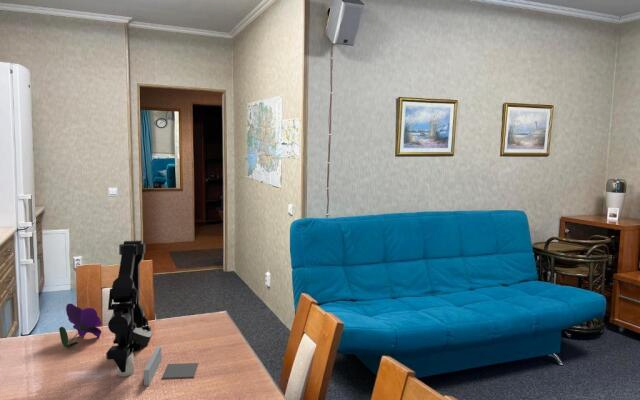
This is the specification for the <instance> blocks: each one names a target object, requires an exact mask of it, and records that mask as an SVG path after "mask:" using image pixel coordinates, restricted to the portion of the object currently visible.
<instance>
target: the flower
mask: <svg viewBox="0 0 640 400" xmlns="http://www.w3.org/2000/svg"><path fill="white" fill-rule="evenodd" d="M65 311H66V315H67V318H68V319H67V320H68V321H69V322H70V323H71V324H73V326H72V328H73V329H75V330H76V331H77V333H76V334H75V335H74V336H73V338H72V339H71V341H69V336H68V332H67V330H66V328H65V327H64V326H61V327H59V328H58V331H59V335H60V336H59V337H60V340H61V343H62V345H63V347H65V348H68V349H70V348H71V347H74V346H76V345H78V344H79V342H78V341H74V342H73V340H74V339H75V337H77V336H79V337H85V336H86V335H87V333H89V334H93V336H95V337H96V338H98V339H100V337H101V335H102V333H103V332H102V330H101V329H100V328H99V327H100V326H101V325H102V321H101V319H100V317H99V316H98V312H97V311H96V309H95V308H91V307H86V308H83V309H82V308H80V307H78V306H76V305H75V304H73V303H68V304H67V305H66V307H65Z"/></svg>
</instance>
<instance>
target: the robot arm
mask: <svg viewBox="0 0 640 400" xmlns="http://www.w3.org/2000/svg"><path fill="white" fill-rule="evenodd" d="M146 247H147V246H146V243H143V240H124V241H123V243H120V244H119V245H118V251H119V252H118V253H119V255H120V256H121V257H120V264H119V268H118V276H117V278H116V279H114V280H113V282H112V286H111V288H110V289H109V295H108V305H107V310H108V311H113V312H112V316H111V317H110V319H109V321H108V324H107V329H108V330H109V331H110V332H111V333H112V334H114V339H113V341H112V342H113V345H112V346H111V347H110V348H109V349H108V350H107V351H106V352H105V356H106V360H113V361H114V363H115V365H116V367H117V366H118V367H119V369H120V371H121V372H125V370H126V363H127V358H128V357H129V356H130V354H131V353H133V352H137V351H140V350H142V349H143V348H145V347H148V345H149V344H150V341H151V339H152V336H153V330H152V327H151V325H149V320H148V317H147V316H146V315H145V309H144V308H143V306H142V305H141V299H140V298H141V296H140V295H141V294H140V293H141V291H140V290H141V287H140V283H141V282H140V281H141V280H140V278H141V277H140V276H141V275H140V264H141V263H142V261H143V260H144V258H145V254H146Z"/></svg>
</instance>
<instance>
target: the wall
mask: <svg viewBox="0 0 640 400" xmlns="http://www.w3.org/2000/svg"><path fill="white" fill-rule="evenodd" d="M161 362H162V346H156V348H155V349H154V351H153V353H152V354H151V356H150V358H149V360H148V362H147V363H146V365H145V367H144V369H143V385H144V386H150V384H151V383H152V380H153V379H154V376H155V375H156V372H157V370H158V369H159V367H160V364H161Z"/></svg>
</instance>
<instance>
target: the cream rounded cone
mask: <svg viewBox="0 0 640 400" xmlns="http://www.w3.org/2000/svg"><path fill="white" fill-rule="evenodd" d="M134 361H135V360H134V353H133V352H132V353H131V354H130V356H129V357H128V358H127V363H126V370H125V372H121V371H120V369H119V367H118V366H117V365H116V367H117V375H118V376H119V377H124V378H125V377H129V376H131V375H134V373H135V365H134Z"/></svg>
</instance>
